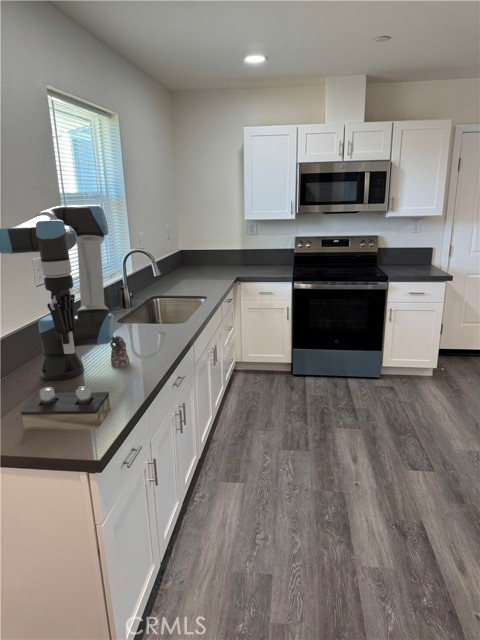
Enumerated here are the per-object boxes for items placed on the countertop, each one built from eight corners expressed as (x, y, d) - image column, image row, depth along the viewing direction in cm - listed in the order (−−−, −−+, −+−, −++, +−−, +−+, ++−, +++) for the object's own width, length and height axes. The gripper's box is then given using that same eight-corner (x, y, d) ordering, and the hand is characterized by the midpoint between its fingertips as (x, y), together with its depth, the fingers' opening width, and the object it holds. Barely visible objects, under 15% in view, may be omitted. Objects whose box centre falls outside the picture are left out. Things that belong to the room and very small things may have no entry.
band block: (43, 410, 138) (40, 393, 136) (111, 409, 137) (108, 391, 135) (24, 430, 126) (20, 411, 125) (98, 429, 125) (95, 410, 124)
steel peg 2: (81, 402, 132) (78, 386, 131) (94, 402, 132) (91, 386, 130) (76, 408, 128) (73, 392, 127) (89, 408, 128) (86, 392, 127)
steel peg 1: (46, 403, 133) (43, 387, 131) (58, 403, 132) (56, 386, 131) (40, 409, 129) (36, 392, 127) (53, 409, 129) (50, 392, 127)
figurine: (124, 367, 170) (121, 338, 166) (108, 366, 171) (104, 338, 168) (132, 360, 176) (129, 333, 173) (116, 360, 178) (112, 332, 174)
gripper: (55, 272, 129) (67, 346, 136) (33, 279, 117) (47, 360, 123) (79, 271, 129) (90, 345, 135) (60, 278, 116) (72, 360, 123)
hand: (69, 352), depth 129 cm, fingers closed
